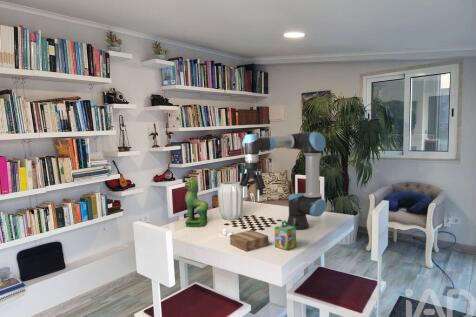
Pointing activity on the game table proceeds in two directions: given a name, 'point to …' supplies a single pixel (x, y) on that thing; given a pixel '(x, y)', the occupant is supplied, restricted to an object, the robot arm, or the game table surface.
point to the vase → (230, 200)
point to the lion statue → (195, 205)
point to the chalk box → (285, 236)
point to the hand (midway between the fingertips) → (252, 199)
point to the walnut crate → (249, 240)
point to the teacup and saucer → (225, 233)
